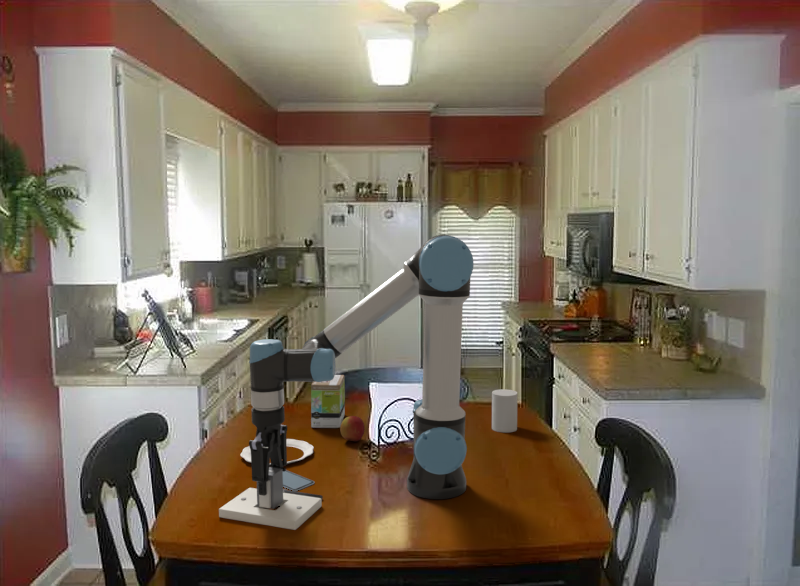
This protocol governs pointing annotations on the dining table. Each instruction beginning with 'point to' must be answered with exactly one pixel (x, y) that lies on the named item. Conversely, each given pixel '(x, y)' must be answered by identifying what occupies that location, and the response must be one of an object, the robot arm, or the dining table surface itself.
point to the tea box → (328, 403)
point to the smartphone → (295, 481)
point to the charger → (274, 486)
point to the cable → (302, 494)
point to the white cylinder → (504, 410)
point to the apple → (352, 428)
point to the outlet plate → (285, 516)
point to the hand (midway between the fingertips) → (271, 502)
